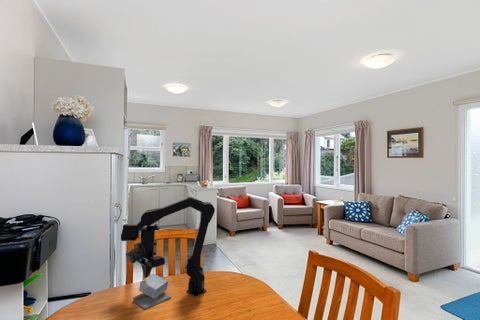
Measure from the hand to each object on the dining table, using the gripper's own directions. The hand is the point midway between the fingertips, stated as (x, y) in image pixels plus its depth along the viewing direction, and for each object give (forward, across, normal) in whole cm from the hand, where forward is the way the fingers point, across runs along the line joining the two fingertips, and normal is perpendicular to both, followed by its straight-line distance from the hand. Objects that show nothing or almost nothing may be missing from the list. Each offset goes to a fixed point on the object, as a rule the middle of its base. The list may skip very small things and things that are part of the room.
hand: (146, 277), depth 111 cm
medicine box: (+3, -2, +1) cm, 4 cm away
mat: (+8, +6, 0) cm, 10 cm away
